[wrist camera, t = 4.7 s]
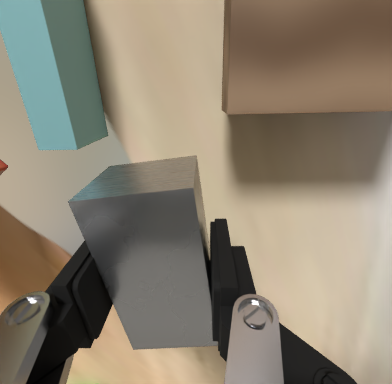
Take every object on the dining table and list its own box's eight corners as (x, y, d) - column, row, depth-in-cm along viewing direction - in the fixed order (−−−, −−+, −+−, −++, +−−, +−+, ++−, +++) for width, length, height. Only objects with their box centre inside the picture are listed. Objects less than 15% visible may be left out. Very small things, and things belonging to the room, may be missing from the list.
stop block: (33, -54, 16) (-51, -128, 11) (73, -56, 16) (7, -131, 11) (78, 136, 22) (38, 150, 17) (108, 135, 22) (77, 149, 17)
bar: (109, 166, 10) (68, 201, 7) (196, 155, 10) (193, 187, 6) (149, 289, 13) (133, 349, 10) (214, 284, 13) (217, 345, 10)
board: (225, -47, 13) (235, -99, 10) (477, -56, 13) (585, -115, 9) (221, 109, 17) (227, 114, 13) (417, 105, 17) (477, 109, 13)
